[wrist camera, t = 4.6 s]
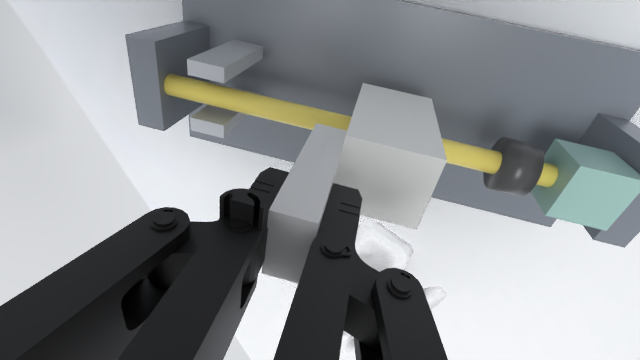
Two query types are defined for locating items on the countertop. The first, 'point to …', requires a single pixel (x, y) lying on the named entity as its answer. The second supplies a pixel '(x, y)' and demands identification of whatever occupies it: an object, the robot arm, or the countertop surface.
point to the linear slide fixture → (419, 79)
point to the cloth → (383, 262)
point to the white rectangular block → (392, 154)
